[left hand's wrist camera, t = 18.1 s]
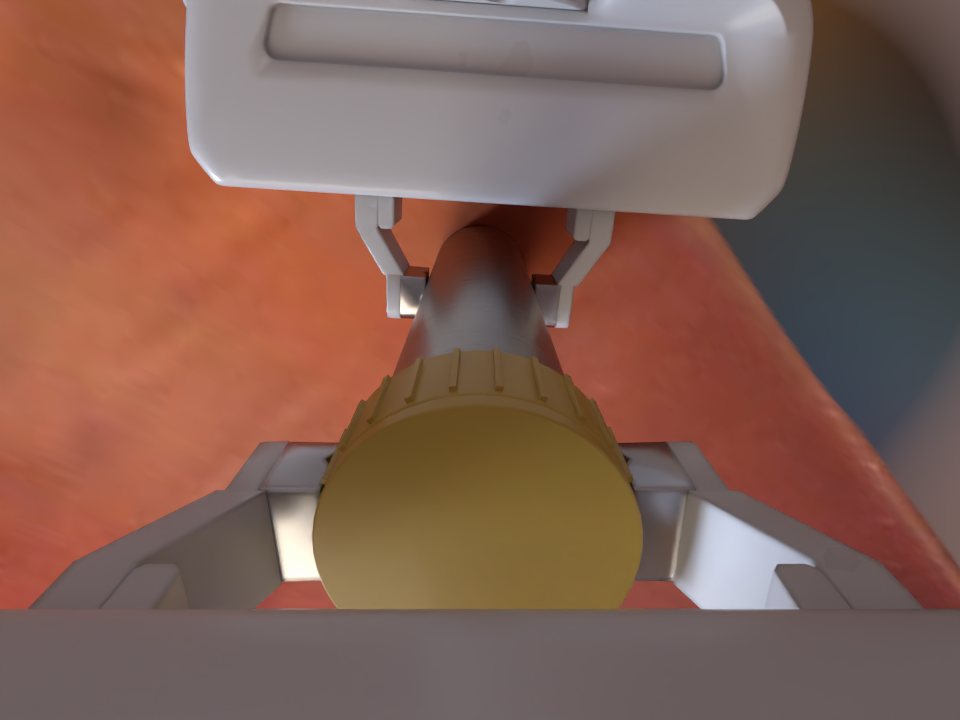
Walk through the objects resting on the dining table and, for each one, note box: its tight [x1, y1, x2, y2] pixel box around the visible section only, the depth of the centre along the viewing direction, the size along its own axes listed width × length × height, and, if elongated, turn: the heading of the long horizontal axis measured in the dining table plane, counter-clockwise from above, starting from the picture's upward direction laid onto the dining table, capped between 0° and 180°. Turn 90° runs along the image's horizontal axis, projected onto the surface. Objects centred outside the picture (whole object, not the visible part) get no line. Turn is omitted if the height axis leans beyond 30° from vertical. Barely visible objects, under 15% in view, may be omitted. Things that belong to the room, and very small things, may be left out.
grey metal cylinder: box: [393, 225, 564, 376], centre depth 18 cm, size 4×4×19 cm
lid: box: [312, 348, 643, 609], centre depth 9 cm, size 5×5×2 cm
